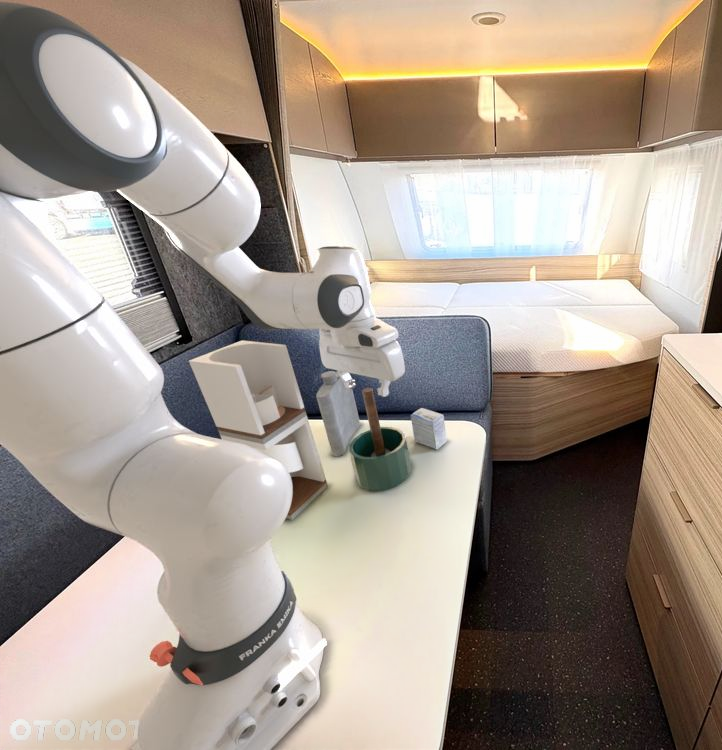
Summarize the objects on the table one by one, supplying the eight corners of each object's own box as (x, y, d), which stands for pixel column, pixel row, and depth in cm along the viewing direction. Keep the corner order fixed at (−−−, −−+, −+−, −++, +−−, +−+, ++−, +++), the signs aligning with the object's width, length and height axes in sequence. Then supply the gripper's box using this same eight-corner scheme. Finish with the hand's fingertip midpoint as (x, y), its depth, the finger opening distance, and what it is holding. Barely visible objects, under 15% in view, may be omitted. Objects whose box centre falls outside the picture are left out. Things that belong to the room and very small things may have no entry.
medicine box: (447, 442, 103) (444, 414, 99) (436, 450, 100) (432, 422, 96) (425, 433, 107) (421, 406, 103) (414, 442, 104) (409, 414, 100)
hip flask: (342, 456, 99) (324, 387, 91) (327, 456, 99) (307, 388, 91) (361, 422, 114) (347, 360, 105) (348, 423, 114) (332, 361, 105)
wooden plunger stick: (385, 479, 90) (367, 396, 80) (370, 474, 92) (352, 392, 82) (397, 467, 93) (382, 387, 84) (383, 463, 95) (366, 384, 86)
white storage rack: (251, 508, 83) (188, 360, 68) (289, 477, 92) (241, 340, 77) (292, 520, 80) (235, 367, 65) (327, 486, 89) (285, 344, 74)
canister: (387, 497, 85) (380, 465, 81) (345, 482, 90) (336, 450, 86) (421, 464, 95) (416, 433, 91) (382, 452, 100) (376, 422, 96)
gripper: (305, 329, 79) (321, 389, 85) (382, 341, 70) (393, 406, 76) (329, 320, 84) (343, 378, 90) (404, 330, 76) (413, 393, 81)
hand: (367, 391), depth 83 cm, fingers open, 8 cm apart
